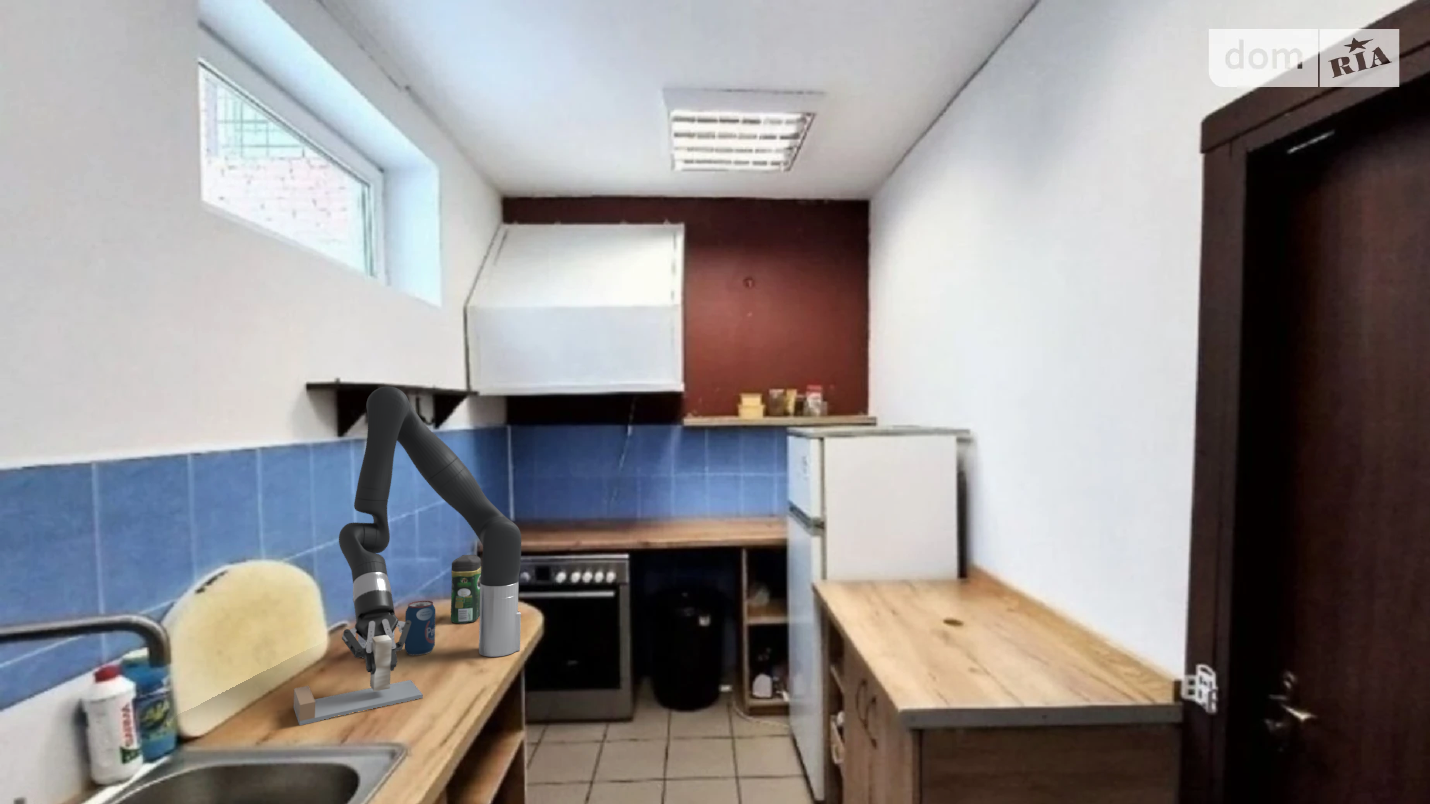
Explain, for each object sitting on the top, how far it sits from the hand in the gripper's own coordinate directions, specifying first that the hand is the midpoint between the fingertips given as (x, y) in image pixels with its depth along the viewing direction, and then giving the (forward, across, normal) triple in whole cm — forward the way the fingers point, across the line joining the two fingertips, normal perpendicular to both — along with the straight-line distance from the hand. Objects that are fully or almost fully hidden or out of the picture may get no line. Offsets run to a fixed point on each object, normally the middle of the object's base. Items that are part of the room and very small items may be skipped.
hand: (382, 670), depth 140 cm
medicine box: (-19, +5, +28) cm, 34 cm away
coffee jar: (-31, +32, +40) cm, 60 cm away
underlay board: (+3, -4, +6) cm, 8 cm away
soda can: (-15, +14, +24) cm, 32 cm away
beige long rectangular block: (+1, 0, +4) cm, 4 cm away
